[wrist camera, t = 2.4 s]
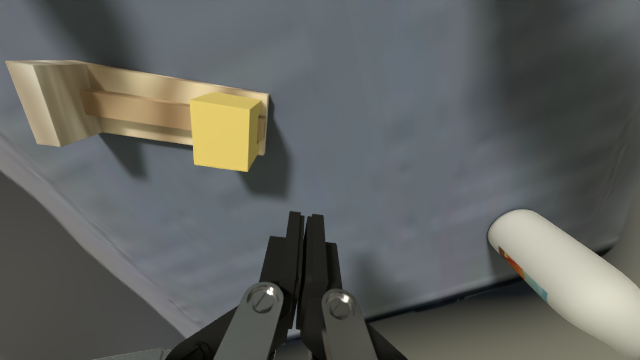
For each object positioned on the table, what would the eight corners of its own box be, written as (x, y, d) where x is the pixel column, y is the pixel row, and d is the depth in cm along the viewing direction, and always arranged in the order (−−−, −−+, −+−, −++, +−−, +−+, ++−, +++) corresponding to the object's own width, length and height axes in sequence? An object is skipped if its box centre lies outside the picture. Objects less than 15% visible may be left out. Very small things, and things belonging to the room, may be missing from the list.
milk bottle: (482, 218, 35) (654, 381, 18) (537, 199, 34) (783, 354, 16) (488, 253, 39) (638, 419, 21) (538, 237, 37) (744, 399, 20)
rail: (269, 93, 26) (257, 103, 21) (265, 152, 30) (254, 173, 24) (74, 60, 24) (5, 60, 19) (92, 126, 28) (37, 143, 22)
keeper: (261, 99, 25) (249, 109, 20) (258, 152, 28) (247, 171, 23) (213, 91, 25) (189, 99, 20) (215, 145, 27) (194, 164, 23)
